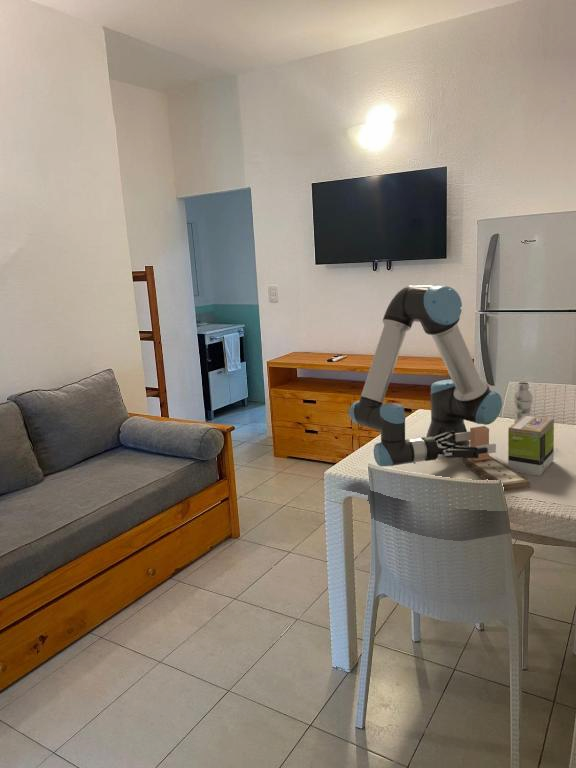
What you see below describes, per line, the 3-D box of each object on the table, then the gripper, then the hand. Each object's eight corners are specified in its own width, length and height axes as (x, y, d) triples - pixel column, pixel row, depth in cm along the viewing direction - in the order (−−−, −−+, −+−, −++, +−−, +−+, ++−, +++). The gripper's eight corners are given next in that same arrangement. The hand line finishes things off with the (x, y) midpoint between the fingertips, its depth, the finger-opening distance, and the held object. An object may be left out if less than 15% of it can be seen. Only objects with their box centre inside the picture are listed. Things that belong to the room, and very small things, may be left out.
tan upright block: (467, 456, 191) (467, 427, 189) (483, 453, 192) (484, 425, 190) (474, 461, 186) (474, 431, 184) (491, 458, 187) (492, 429, 185)
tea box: (522, 456, 195) (523, 414, 191) (554, 461, 188) (555, 418, 185) (507, 470, 183) (507, 426, 180) (540, 477, 177) (541, 431, 174)
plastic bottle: (535, 435, 214) (537, 383, 210) (524, 439, 210) (526, 386, 206) (520, 431, 219) (521, 380, 215) (509, 435, 216) (510, 383, 211)
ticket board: (462, 463, 192) (462, 456, 191) (487, 460, 193) (487, 453, 193) (501, 491, 169) (501, 483, 168) (529, 487, 170) (529, 479, 170)
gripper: (407, 448, 196) (465, 440, 200) (439, 474, 172) (505, 465, 176) (407, 427, 194) (465, 419, 198) (439, 450, 170) (505, 442, 174)
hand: (484, 441), depth 187 cm, fingers open, 13 cm apart
